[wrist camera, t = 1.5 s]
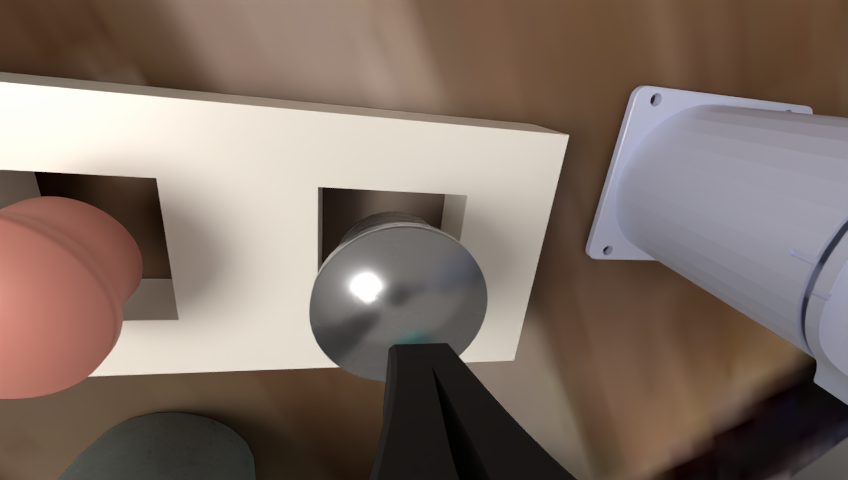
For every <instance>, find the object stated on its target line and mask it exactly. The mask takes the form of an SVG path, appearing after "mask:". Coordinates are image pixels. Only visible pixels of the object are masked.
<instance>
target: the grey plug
mask: <svg viewBox="0 0 848 480" xmlns="http://www.w3.org/2000/svg"><path fill="white" fill-rule="evenodd" d="M487 302H488V297H487V287H486V282H485V279H484V276H483V273H482V271H481V269H480V267H479V265H478V264H477V262H476V261H475V259H474V258H473V256H472V255H471V254H470V252H469V251H468V249H467V248H466V247H465V246H464V245H463V244H462V243H461V242H460V241H458V240H457V239H456V238H454V237H453V236H452V235H450V234H448V233H446V232H444V231H442V230H440V229H437V228H435V227H432V226H430V225H429V224H428V223H427V222H425V221H424V220H422V219H420V218H419V217H417V216H414V215H411V214H408V213H404V212H382V213H377V214H374V215H371V216H368V217H366V218H364V219H362V220H361V221H359V222H358V223H356V224H355V225H353V226H352V227H351V228H350V229H349V230H348V231H347V232H346V234H345V235H344V236H343V238H342V239H341V241H340V243H339V245H338V247H337V248H336V249H335V250H334V251H333V252H332V253H331V254H330V255H329V256H328V258H327V259H326V260H325V262H324V263H323V264H322V266H321V268H320V270H319V271H318V273H317V276H316V278H315V281H314V284H313V288H312V292H311V298H310V307H309V318H310V325H311V329H312V333H313V335H314V337H315V340H316V342H317V344H318V345H319V347H320V348H321V350H322V351H323V352H324V353H325V355H326V356H327V357H328V358H329V359H330V360H331V361H333V362H334V363H335V364H336V365H338V366H339V367H341V368H342V369H344V370H345V371H347V372H350V373H352V374H354V375H357V376H359V377H362V378H366V379H371V380H377V381H386V372H387V361H388V350H389V348H390V347H392V346H393V345H394V344H429V343H448V344H449V345H450V347H451V348H452V349H453V350H454V351H455V352H456V354H457V355H458V356H460V355H461V354H462V353H463V352H464V351H465V350H466V349H467V348H468V347H469V345H470V344H471V343H472V341H473V340H474V339H475V337H476V336H477V334H478V332H479V330H480V328H481V326H482V324H483V321H484V318H485V314H486V310H487Z"/></svg>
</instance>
